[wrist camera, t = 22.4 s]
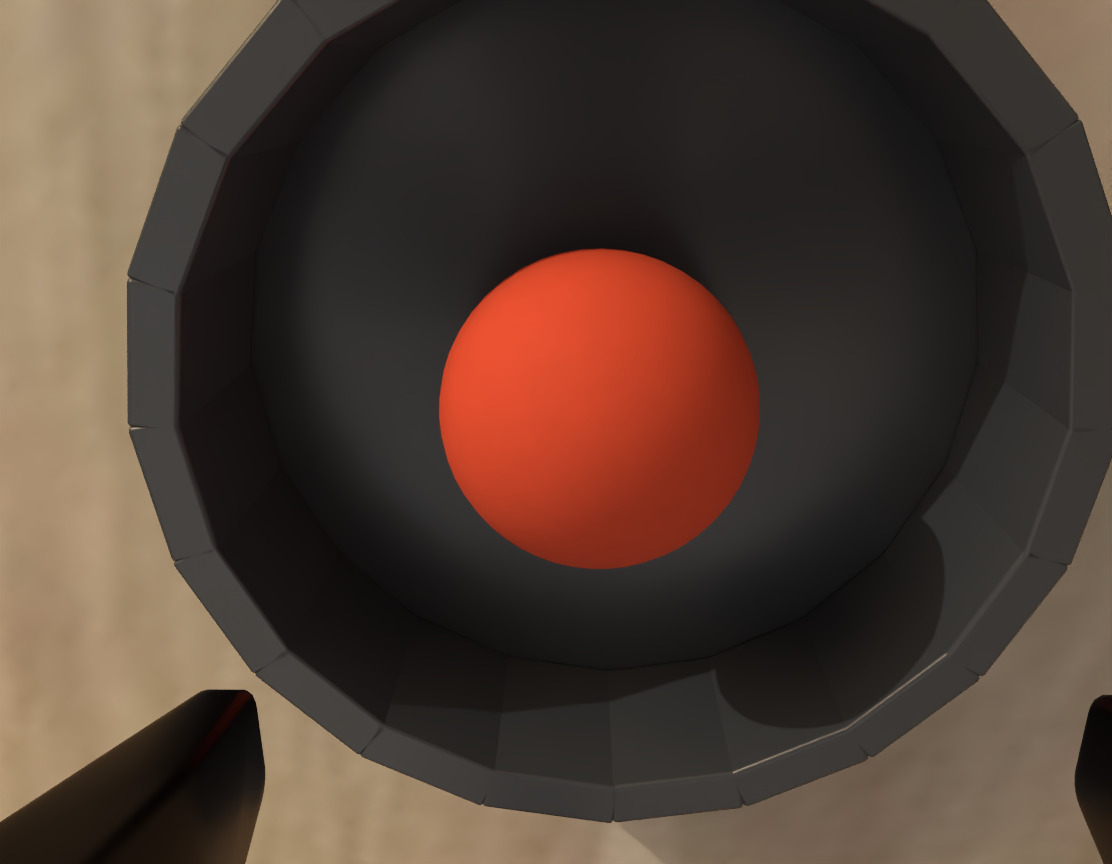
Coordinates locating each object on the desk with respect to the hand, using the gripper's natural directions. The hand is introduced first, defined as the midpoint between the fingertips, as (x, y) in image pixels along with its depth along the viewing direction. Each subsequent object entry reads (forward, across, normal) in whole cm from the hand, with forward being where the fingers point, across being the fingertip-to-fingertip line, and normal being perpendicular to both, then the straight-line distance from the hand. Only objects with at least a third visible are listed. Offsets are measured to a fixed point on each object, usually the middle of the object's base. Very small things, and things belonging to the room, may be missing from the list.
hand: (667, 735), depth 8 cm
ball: (+8, 0, 0) cm, 8 cm away
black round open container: (+10, 0, 0) cm, 10 cm away
